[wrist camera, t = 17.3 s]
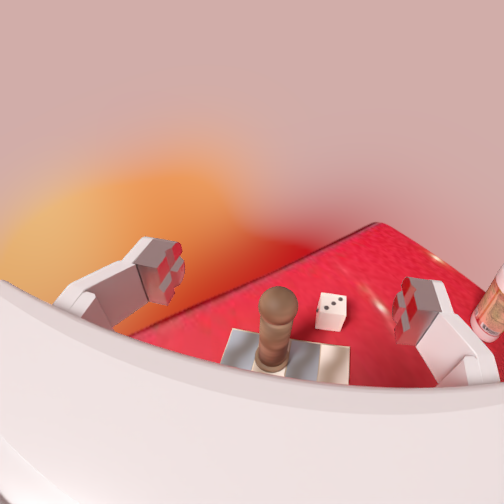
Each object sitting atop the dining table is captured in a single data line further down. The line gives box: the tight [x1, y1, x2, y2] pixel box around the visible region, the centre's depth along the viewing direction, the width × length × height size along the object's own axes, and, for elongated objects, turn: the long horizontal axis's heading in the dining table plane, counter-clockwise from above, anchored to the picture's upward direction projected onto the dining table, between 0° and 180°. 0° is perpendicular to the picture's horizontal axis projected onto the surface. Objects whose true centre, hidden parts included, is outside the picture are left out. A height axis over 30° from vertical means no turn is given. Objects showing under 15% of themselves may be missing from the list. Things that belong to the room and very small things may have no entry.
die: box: [315, 292, 346, 332], centre depth 46 cm, size 5×5×5 cm
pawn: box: [255, 286, 298, 373], centre depth 36 cm, size 5×5×15 cm
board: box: [220, 328, 350, 385], centre depth 40 cm, size 20×9×1 cm, turn 77°
